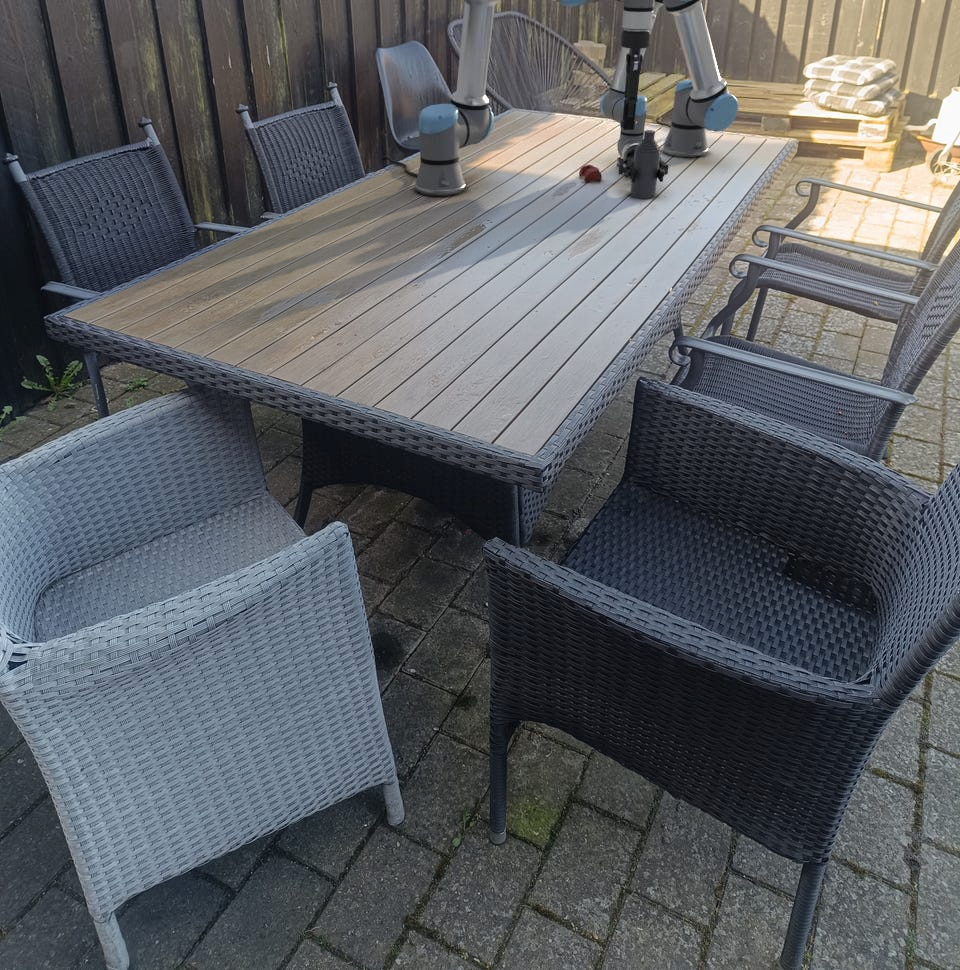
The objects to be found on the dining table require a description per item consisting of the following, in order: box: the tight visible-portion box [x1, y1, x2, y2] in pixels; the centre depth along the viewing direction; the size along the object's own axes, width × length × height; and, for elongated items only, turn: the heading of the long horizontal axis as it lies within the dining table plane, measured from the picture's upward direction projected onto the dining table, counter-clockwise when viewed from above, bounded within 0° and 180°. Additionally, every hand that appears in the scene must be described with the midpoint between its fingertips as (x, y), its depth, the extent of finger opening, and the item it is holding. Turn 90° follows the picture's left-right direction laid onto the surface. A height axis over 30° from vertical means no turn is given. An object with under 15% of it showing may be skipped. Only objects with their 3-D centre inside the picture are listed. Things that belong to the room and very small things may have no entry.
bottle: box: [629, 129, 661, 200], centre depth 249 cm, size 7×7×18 cm
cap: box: [619, 120, 636, 129], centre depth 226 cm, size 4×4×2 cm
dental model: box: [578, 164, 603, 183], centre depth 266 cm, size 6×4×8 cm
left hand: (627, 127), depth 227 cm, fingers closed on cap, 4 cm apart
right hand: (648, 177), depth 246 cm, fingers closed on bottle, 7 cm apart
